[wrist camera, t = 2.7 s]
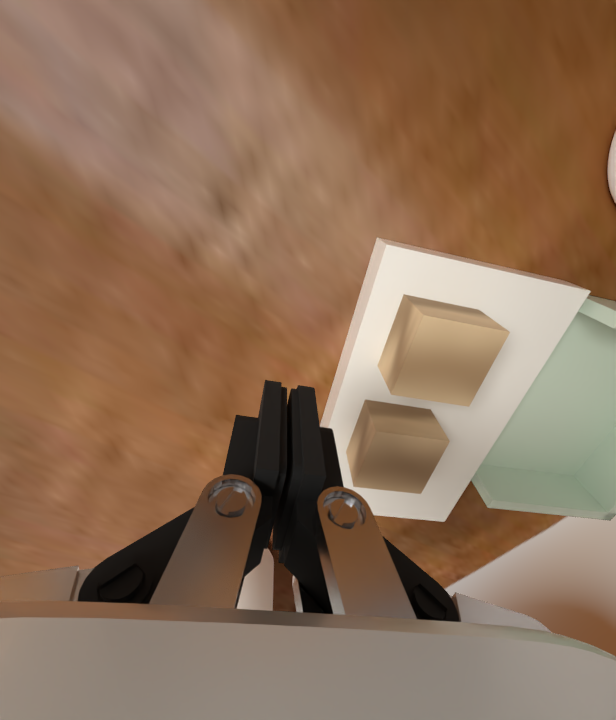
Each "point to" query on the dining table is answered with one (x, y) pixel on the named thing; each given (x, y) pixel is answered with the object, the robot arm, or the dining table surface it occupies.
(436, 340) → the tan faceted block
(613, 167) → the jar
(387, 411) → the tan block
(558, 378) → the tray
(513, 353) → the board
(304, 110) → the dining table surface
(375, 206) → the dining table surface
